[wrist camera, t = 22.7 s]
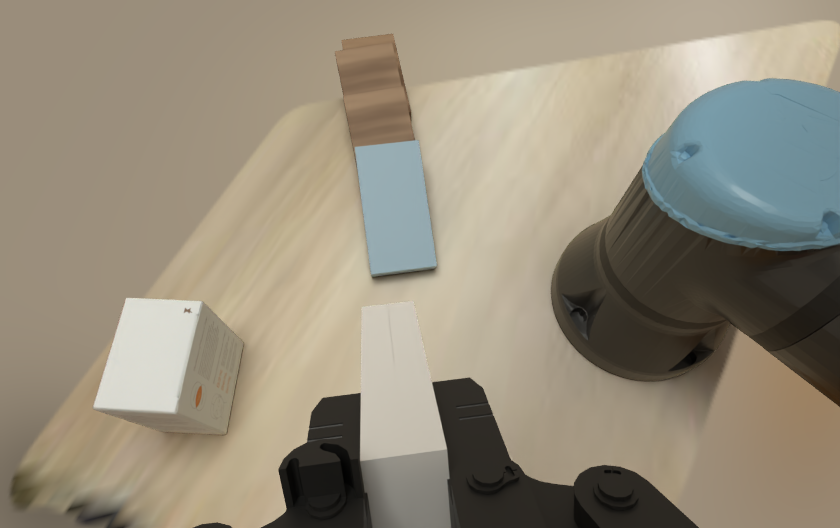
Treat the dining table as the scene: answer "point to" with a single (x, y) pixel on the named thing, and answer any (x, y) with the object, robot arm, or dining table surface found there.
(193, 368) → the small box
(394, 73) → the domino
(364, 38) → the domino
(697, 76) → the dining table surface
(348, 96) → the domino
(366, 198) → the blue domino
